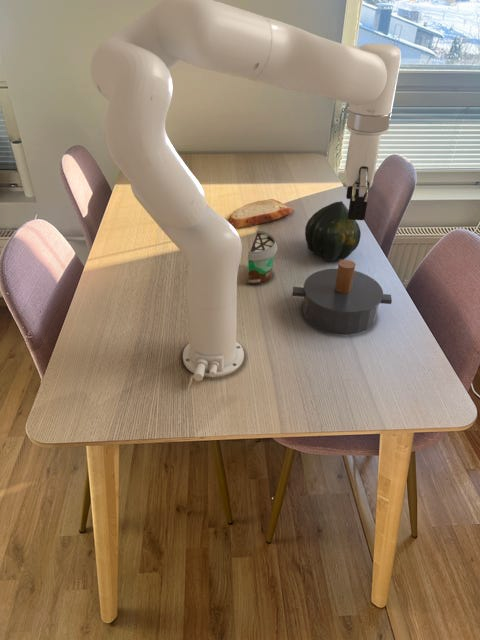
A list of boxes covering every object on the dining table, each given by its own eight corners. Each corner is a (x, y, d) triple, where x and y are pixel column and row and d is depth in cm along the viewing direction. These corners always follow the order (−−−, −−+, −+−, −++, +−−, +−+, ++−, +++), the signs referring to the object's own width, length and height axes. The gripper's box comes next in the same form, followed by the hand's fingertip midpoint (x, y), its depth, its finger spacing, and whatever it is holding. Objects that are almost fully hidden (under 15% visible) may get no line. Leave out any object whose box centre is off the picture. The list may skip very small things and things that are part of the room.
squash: (307, 253, 131) (348, 207, 127) (287, 228, 143) (324, 186, 139) (342, 279, 139) (381, 237, 134) (320, 254, 150) (356, 214, 146)
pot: (390, 340, 112) (396, 316, 108) (289, 331, 114) (291, 307, 110) (383, 297, 125) (388, 275, 121) (293, 290, 127) (294, 268, 123)
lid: (385, 319, 108) (392, 289, 103) (301, 312, 110) (304, 282, 105) (379, 275, 122) (384, 247, 117) (304, 269, 124) (307, 241, 119)
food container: (271, 290, 127) (273, 255, 121) (247, 288, 128) (248, 252, 122) (278, 265, 136) (280, 231, 130) (255, 263, 137) (257, 229, 131)
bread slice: (225, 227, 154) (225, 215, 152) (239, 202, 168) (239, 191, 166) (284, 234, 151) (285, 222, 148) (294, 208, 165) (295, 197, 162)
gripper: (346, 107, 100) (335, 190, 111) (348, 134, 87) (336, 226, 97) (385, 109, 100) (370, 192, 110) (394, 137, 86) (377, 229, 96)
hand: (354, 208), depth 104 cm, fingers open, 9 cm apart
